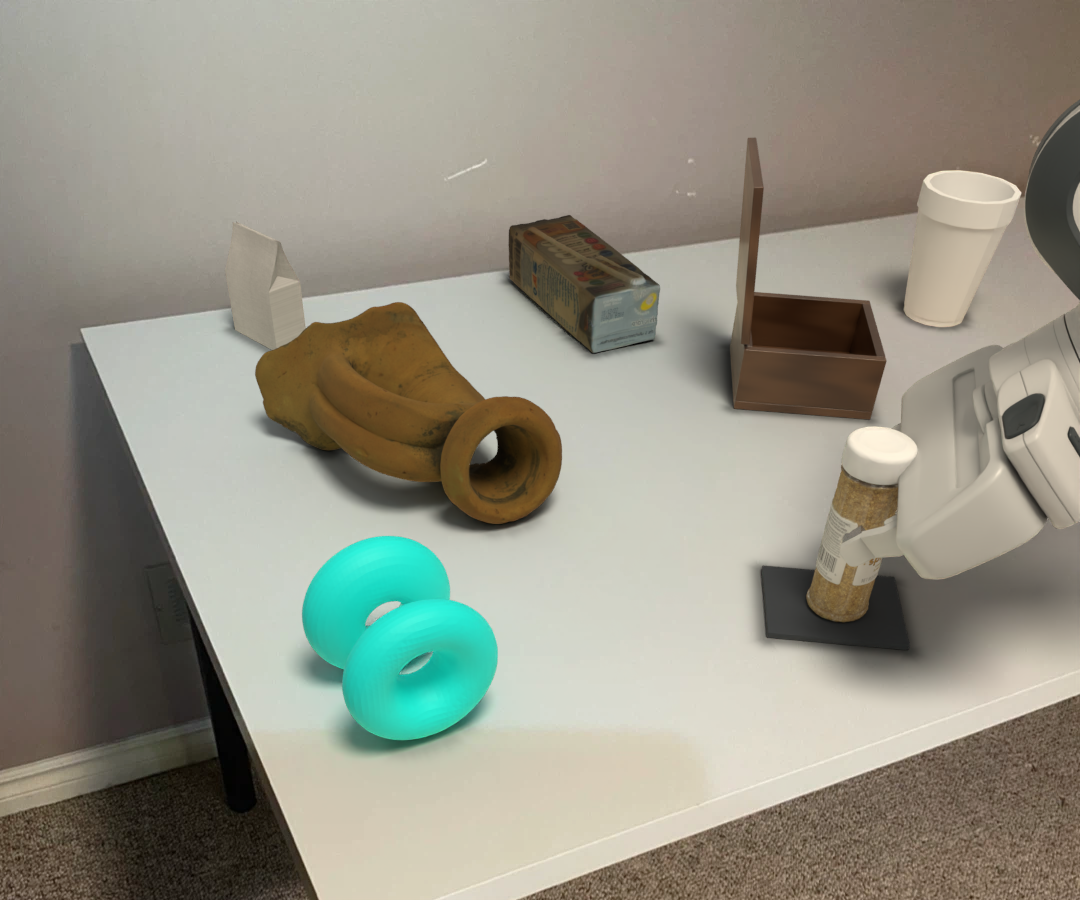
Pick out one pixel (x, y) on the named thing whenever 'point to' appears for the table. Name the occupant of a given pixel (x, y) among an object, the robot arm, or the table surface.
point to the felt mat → (800, 622)
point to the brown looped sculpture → (410, 412)
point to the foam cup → (955, 242)
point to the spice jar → (858, 519)
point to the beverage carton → (583, 283)
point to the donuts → (398, 638)
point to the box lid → (749, 239)
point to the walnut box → (808, 357)
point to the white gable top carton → (263, 289)
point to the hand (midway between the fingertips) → (848, 514)
